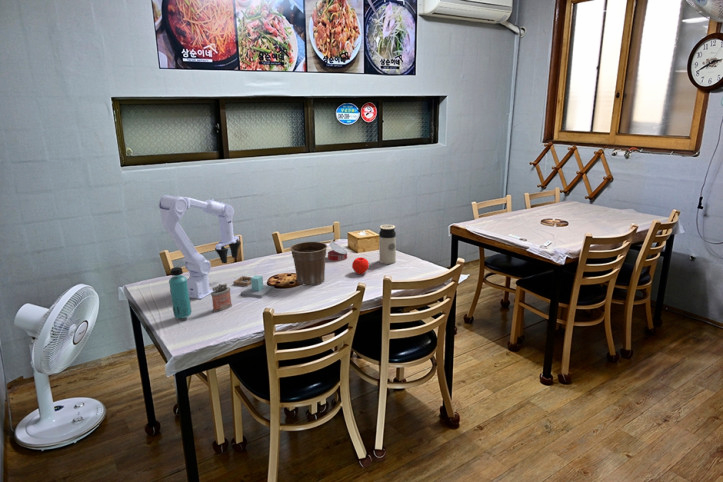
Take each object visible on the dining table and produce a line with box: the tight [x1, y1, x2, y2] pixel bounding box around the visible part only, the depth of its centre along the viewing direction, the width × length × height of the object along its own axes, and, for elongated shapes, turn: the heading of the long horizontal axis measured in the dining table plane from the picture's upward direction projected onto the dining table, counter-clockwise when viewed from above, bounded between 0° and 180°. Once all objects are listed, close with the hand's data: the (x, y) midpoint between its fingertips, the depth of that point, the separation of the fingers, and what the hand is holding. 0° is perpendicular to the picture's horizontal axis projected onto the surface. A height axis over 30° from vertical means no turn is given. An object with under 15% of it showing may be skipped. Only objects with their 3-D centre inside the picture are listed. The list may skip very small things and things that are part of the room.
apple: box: [351, 257, 370, 275], centre depth 221 cm, size 8×8×7 cm
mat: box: [240, 284, 275, 298], centre depth 204 cm, size 10×10×1 cm
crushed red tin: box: [210, 282, 233, 313], centre depth 187 cm, size 8×3×10 cm, turn 141°
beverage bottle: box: [168, 266, 192, 319], centre depth 177 cm, size 6×7×20 cm
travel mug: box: [378, 224, 397, 265], centre depth 235 cm, size 8×8×18 cm
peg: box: [250, 274, 264, 291], centre depth 203 cm, size 4×4×6 cm
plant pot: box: [289, 241, 328, 287], centre depth 212 cm, size 16×16×16 cm
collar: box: [233, 275, 253, 287], centre depth 213 cm, size 7×7×2 cm
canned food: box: [327, 240, 348, 262], centre depth 244 cm, size 11×10×10 cm
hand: (229, 260), depth 213 cm, fingers open, 7 cm apart
